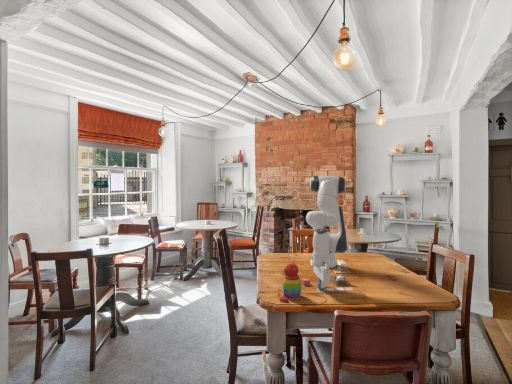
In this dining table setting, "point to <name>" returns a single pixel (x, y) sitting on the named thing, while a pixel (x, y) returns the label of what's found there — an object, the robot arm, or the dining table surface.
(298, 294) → the stacking bear
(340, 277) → the dome
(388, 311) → the dining table surface
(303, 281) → the die
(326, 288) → the track
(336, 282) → the popper box
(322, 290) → the pawn
